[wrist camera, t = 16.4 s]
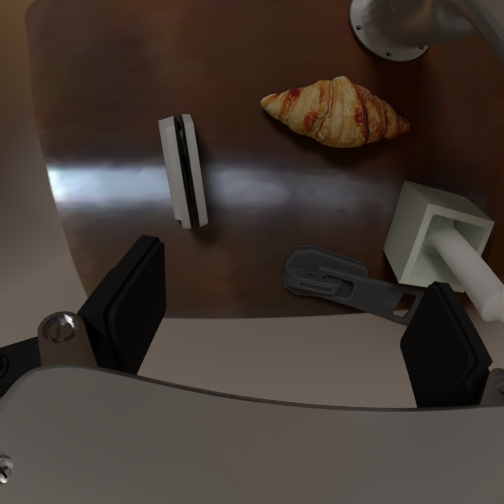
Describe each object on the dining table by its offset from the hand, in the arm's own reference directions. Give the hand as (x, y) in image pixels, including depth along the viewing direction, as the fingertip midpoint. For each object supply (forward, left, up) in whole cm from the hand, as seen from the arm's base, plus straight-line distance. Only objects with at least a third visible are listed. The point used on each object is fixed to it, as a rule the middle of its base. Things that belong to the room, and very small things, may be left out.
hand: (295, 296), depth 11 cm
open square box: (+10, +25, -38) cm, 47 cm away
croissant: (-4, +6, -39) cm, 39 cm away
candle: (+10, +26, -38) cm, 47 cm away
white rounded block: (+8, -14, -39) cm, 42 cm away
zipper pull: (+23, +15, -39) cm, 47 cm away
